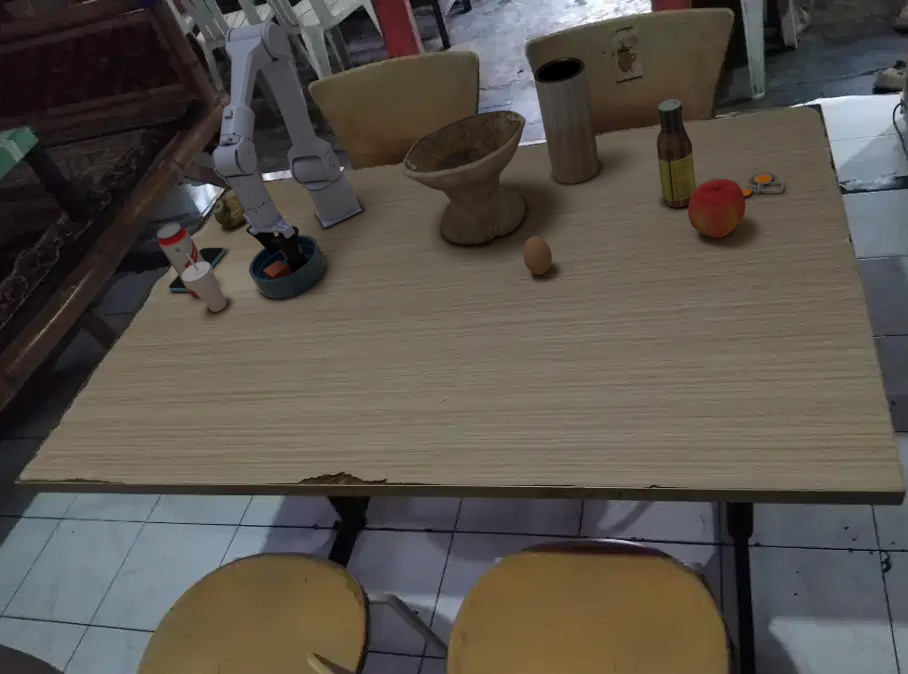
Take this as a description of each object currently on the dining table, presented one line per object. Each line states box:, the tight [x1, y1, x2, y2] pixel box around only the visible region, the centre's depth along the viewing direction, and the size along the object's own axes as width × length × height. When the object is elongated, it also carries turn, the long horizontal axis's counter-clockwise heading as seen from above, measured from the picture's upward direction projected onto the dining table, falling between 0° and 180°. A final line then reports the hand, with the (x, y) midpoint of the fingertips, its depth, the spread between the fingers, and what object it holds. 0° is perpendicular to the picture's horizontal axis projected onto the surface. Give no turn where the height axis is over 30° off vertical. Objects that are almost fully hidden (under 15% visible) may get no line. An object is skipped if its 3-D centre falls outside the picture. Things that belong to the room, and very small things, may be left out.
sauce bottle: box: [656, 98, 697, 208], centre depth 135 cm, size 6×6×20 cm
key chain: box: [712, 173, 785, 197], centre depth 138 cm, size 13×7×1 cm, turn 76°
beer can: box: [156, 222, 205, 297], centre depth 157 cm, size 6×6×16 cm
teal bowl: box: [248, 234, 327, 300], centre depth 156 cm, size 15×15×5 cm
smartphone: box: [167, 247, 226, 292], centre depth 169 cm, size 7×1×15 cm
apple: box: [687, 178, 746, 238], centre depth 129 cm, size 10×10×10 cm
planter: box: [533, 56, 600, 184], centre depth 150 cm, size 10×10×23 cm
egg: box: [522, 236, 553, 275], centre depth 135 cm, size 5×5×8 cm
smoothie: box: [182, 253, 228, 313], centre depth 152 cm, size 6×6×14 cm
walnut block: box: [282, 244, 308, 273], centre depth 157 cm, size 4×4×4 cm
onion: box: [212, 195, 246, 228], centre depth 178 cm, size 8×8×8 cm
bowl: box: [401, 109, 527, 246], centre depth 147 cm, size 26×25×20 cm
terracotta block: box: [263, 260, 292, 280], centre depth 155 cm, size 4×4×4 cm
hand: (285, 256), depth 152 cm, fingers open, 7 cm apart
